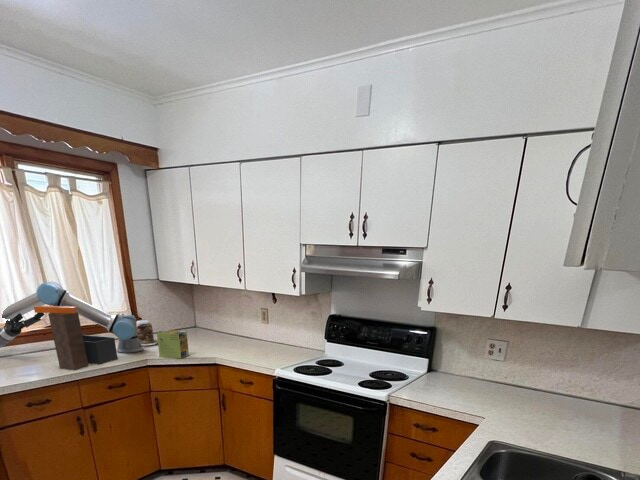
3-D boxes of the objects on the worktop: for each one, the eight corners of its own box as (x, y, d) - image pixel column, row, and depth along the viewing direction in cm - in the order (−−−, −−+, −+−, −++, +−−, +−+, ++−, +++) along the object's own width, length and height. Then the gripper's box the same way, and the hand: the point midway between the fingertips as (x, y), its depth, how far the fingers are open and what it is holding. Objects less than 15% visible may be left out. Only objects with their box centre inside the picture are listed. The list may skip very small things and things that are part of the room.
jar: (140, 340, 317) (137, 319, 311) (156, 340, 317) (153, 320, 311) (134, 343, 306) (131, 322, 300) (150, 343, 306) (147, 322, 300)
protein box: (181, 358, 267) (178, 333, 261) (159, 356, 270) (156, 332, 264) (189, 355, 277) (187, 331, 271) (167, 353, 280) (165, 329, 274)
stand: (60, 368, 238) (47, 313, 226) (74, 364, 247) (63, 311, 235) (74, 370, 236) (63, 314, 224) (88, 365, 245) (78, 312, 233)
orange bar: (34, 312, 227) (33, 306, 226) (39, 311, 231) (38, 305, 230) (73, 313, 229) (72, 307, 228) (77, 312, 233) (76, 306, 232)
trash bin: (65, 361, 254) (61, 339, 248) (85, 355, 267) (81, 334, 262) (99, 364, 248) (95, 342, 243) (117, 358, 262) (114, 337, 257)
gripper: (33, 333, 256) (54, 317, 247) (-6, 340, 233) (16, 323, 225) (26, 322, 254) (47, 305, 246) (-15, 328, 232) (7, 310, 223)
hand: (32, 314), depth 235 cm, fingers open, 13 cm apart
